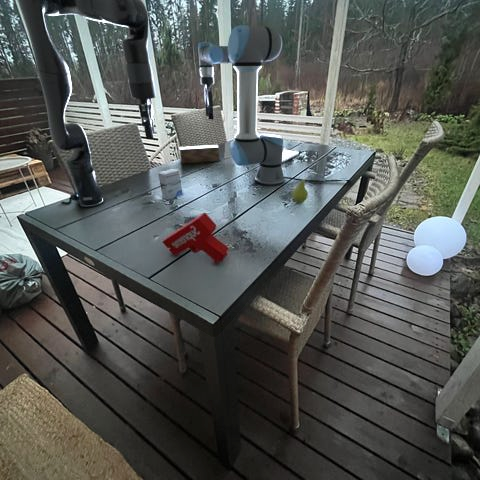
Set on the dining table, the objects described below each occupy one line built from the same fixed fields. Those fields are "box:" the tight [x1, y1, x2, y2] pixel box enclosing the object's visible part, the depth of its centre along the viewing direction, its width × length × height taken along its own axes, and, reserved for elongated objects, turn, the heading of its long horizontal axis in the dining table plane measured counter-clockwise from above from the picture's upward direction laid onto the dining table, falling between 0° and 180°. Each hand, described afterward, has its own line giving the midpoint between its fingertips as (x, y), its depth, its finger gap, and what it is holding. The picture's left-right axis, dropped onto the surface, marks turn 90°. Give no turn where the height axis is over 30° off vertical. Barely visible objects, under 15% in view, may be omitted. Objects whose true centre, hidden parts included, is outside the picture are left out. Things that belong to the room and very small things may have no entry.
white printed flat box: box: [282, 145, 300, 164], centre depth 184 cm, size 27×35×5 cm
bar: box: [179, 144, 220, 164], centre depth 173 cm, size 24×6×9 cm, turn 102°
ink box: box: [157, 168, 184, 200], centre depth 125 cm, size 8×5×12 cm, turn 135°
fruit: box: [291, 174, 311, 204], centre depth 118 cm, size 7×8×12 cm
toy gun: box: [162, 212, 230, 264], centre depth 85 cm, size 18×4×15 cm
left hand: (150, 136), depth 92 cm, fingers open, 8 cm apart
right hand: (209, 117), depth 163 cm, fingers open, 13 cm apart
